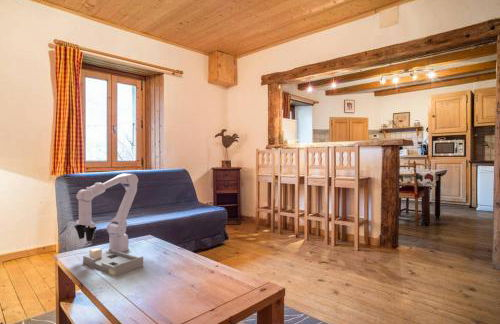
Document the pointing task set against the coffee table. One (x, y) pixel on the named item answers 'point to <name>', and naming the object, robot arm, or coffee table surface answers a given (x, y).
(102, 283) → the coffee table surface
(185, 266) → the coffee table surface
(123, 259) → the board
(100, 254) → the block
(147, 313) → the coffee table surface
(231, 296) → the coffee table surface
